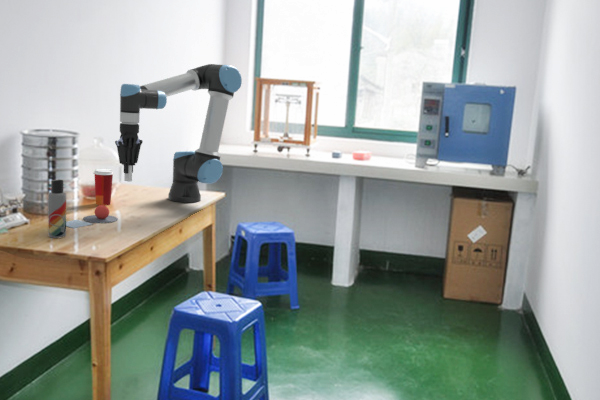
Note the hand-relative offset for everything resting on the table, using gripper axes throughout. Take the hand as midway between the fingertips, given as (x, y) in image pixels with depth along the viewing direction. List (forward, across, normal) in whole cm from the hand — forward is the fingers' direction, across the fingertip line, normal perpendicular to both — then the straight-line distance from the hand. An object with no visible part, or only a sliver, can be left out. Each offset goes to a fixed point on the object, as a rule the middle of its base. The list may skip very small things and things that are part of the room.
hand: (128, 180), depth 246 cm
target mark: (+14, +14, 0) cm, 20 cm away
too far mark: (+14, +26, 0) cm, 29 cm away
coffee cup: (+14, -5, -20) cm, 25 cm away
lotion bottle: (+14, +41, +9) cm, 44 cm away
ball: (+11, +13, 0) cm, 17 cm away
